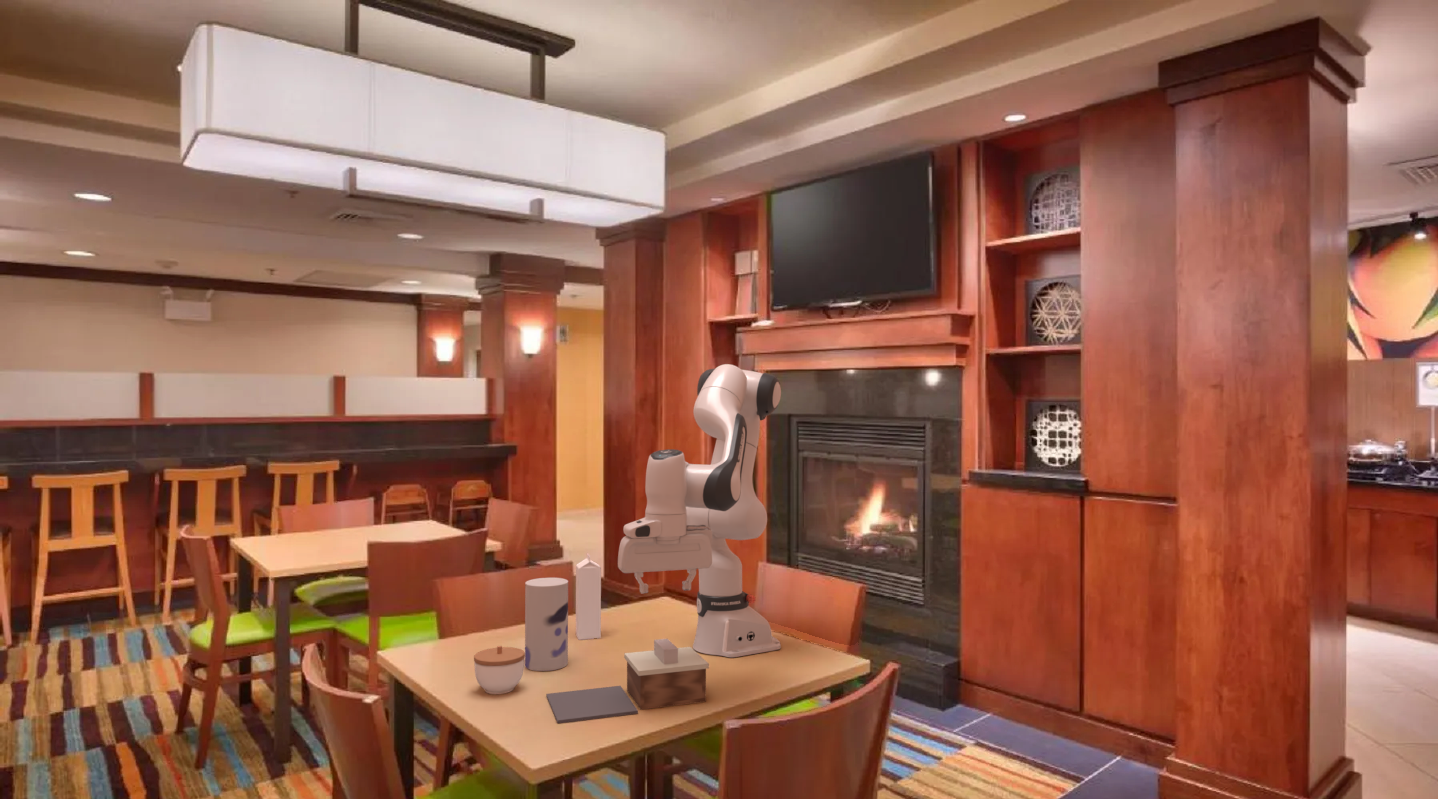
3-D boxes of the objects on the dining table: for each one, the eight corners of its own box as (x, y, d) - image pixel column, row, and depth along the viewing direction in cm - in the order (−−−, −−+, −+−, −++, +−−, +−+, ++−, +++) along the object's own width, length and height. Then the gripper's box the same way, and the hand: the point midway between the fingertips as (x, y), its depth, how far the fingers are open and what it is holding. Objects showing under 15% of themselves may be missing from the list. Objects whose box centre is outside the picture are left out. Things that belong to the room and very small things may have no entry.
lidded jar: (479, 682, 185) (479, 640, 185) (528, 680, 186) (528, 639, 186) (468, 698, 174) (469, 654, 175) (520, 697, 175) (520, 652, 176)
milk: (578, 640, 219) (578, 556, 219) (575, 634, 225) (575, 552, 225) (601, 638, 221) (601, 555, 221) (598, 632, 227) (597, 551, 227)
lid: (690, 654, 185) (690, 633, 185) (708, 672, 173) (708, 649, 173) (624, 661, 180) (624, 639, 180) (638, 679, 168) (638, 656, 168)
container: (558, 673, 192) (558, 586, 192) (517, 670, 194) (518, 584, 194) (574, 660, 201) (574, 577, 202) (535, 657, 203) (536, 576, 204)
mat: (620, 688, 181) (620, 685, 181) (638, 713, 166) (638, 710, 166) (546, 696, 176) (546, 693, 176) (557, 723, 161) (557, 720, 161)
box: (688, 683, 184) (688, 652, 184) (705, 701, 173) (705, 667, 173) (627, 690, 179) (627, 658, 180) (640, 709, 168) (640, 674, 168)
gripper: (707, 522, 183) (707, 585, 183) (616, 526, 176) (615, 591, 176) (716, 526, 177) (716, 591, 177) (622, 530, 170) (622, 597, 170)
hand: (665, 591), depth 176 cm, fingers open, 8 cm apart
